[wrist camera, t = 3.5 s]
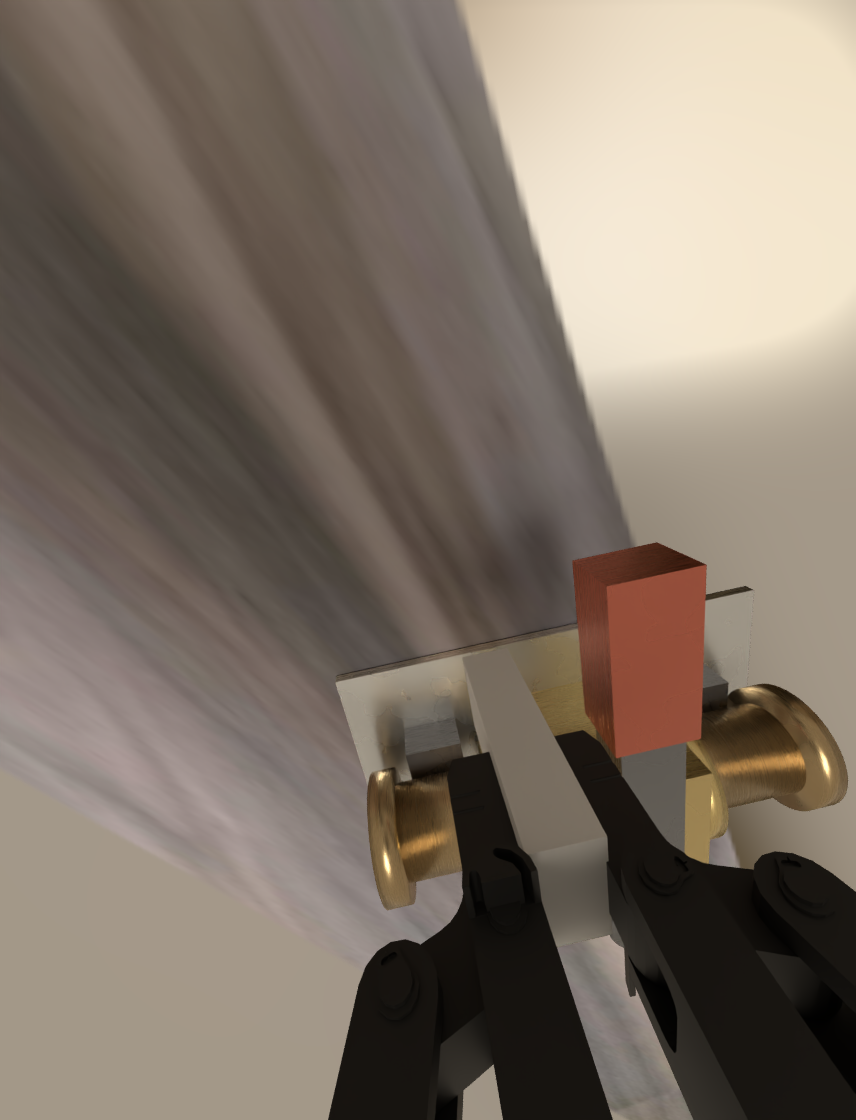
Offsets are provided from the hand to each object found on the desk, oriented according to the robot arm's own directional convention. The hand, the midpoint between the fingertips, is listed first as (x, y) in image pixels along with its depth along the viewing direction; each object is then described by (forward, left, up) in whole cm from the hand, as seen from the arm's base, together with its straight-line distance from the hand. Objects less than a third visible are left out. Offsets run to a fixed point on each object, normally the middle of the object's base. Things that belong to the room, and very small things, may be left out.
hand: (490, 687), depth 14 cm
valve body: (+11, +5, -9) cm, 15 cm away
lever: (+5, +5, -1) cm, 7 cm away
